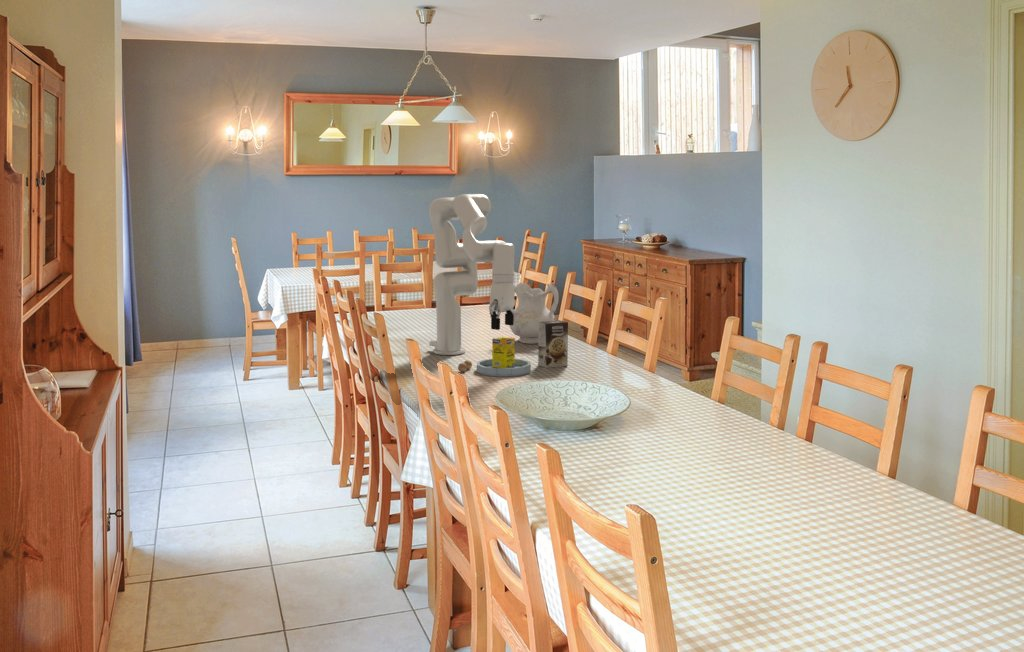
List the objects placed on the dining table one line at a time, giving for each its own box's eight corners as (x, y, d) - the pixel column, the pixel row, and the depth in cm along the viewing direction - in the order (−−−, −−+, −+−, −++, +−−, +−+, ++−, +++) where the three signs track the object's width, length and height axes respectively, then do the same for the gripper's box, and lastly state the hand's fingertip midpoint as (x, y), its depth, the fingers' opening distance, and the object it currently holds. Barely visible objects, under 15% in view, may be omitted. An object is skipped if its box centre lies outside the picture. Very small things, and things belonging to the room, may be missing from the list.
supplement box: (506, 371, 315) (506, 340, 314) (491, 369, 319) (491, 338, 317) (515, 368, 321) (515, 337, 319) (500, 366, 324) (500, 336, 322)
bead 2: (461, 369, 322) (461, 360, 322) (466, 367, 325) (466, 359, 325) (469, 370, 321) (469, 361, 320) (473, 368, 324) (473, 359, 323)
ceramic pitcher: (564, 341, 385) (566, 283, 383) (554, 346, 366) (555, 284, 364) (515, 339, 391) (516, 281, 389) (502, 343, 372) (503, 283, 370)
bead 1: (456, 372, 318) (456, 363, 317) (461, 370, 320) (461, 361, 320) (464, 373, 316) (464, 364, 316) (468, 371, 319) (468, 362, 318)
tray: (466, 373, 316) (466, 365, 315) (493, 363, 332) (493, 356, 332) (514, 378, 307) (514, 370, 306) (539, 368, 323) (540, 361, 323)
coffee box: (546, 368, 324) (546, 323, 322) (537, 365, 330) (537, 321, 327) (568, 366, 328) (568, 321, 326) (559, 362, 334) (559, 319, 331)
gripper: (505, 275, 324) (505, 322, 327) (481, 280, 309) (480, 330, 312) (524, 276, 320) (523, 324, 323) (500, 282, 305) (499, 332, 308)
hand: (502, 327), depth 318 cm, fingers open, 9 cm apart
